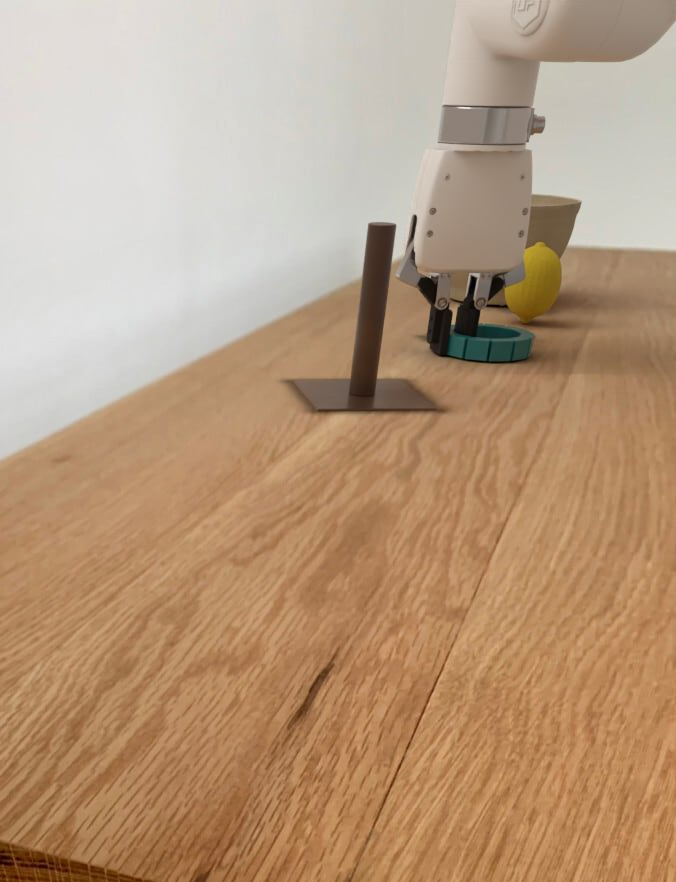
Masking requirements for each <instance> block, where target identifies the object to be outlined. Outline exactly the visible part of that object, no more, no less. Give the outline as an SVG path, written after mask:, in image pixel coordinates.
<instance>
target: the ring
mask: <svg viewBox="0 0 676 882" xmlns="http://www.w3.org/2000/svg"><path fill="white" fill-rule="evenodd" d="M454 328H455V323H454V324H451V329H450V336H449V342H448V349H447V353H445V354H444V355H446V356H450V357H454V358H457V359H464V360H468V361H469V360H470V361H478V362H479V361H481V362H487V361H488V362H510V361H511V362H514V361H520V360H525V359H528V358H529V357H530V356H531V355H532V351H533V346H534V342H535V333H534V332H532V331H530V330H528V329H524V328H521V327H516V326H511V325H505V324H496V323H495V324H494V323H482V322H481V323H480V322H479V323H478V330H477V336H476V337H470V336H466V335H461V334H458V333H456V332H455V329H454Z"/></svg>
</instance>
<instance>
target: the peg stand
mask: <svg viewBox="0 0 676 882" xmlns="http://www.w3.org/2000/svg"><path fill="white" fill-rule="evenodd" d="M396 232H397V223H394V222H387V221H372V222H368V223H367V230H366V240H365V247H364V257H363V266H362V275H361V282H360V290H359V291H360V292H359V300H358V309H357V318H356V325H355V326H356V327H355V336H354V344H353V354H352V361H351V370H350V379H293V381H292V383H293V384H294V386H295V387H296V388H297V389H298V390H299V391H300V393H301V394H302V395H303V396H304V398H305V399H306V400H307V401H308V402H309V404H310V405H311V406H312V407H313V409H314V410H315V411H316V412H321V413H322V412H412V411H413V412H424V411H425V412H427V411H428V412H430V411H433V412H434V411H437V407H436V406H434V405H433V404H432V403H431V402H430V401H428V400H427V399H426V398H425V397H424V396H423V395H421V394H420V393H419V392H418V391H417V390H416V389H414V388H413V386H410V384H408V383H407V382H406V381H405V380H404V379H402V378H393V379H392V378H391V379H390V378H388V379H387V378H382V379H381V378H378V374H379V366H380V358H381V351H382V343H383V333H384V327H385V318H386V310H387V309H386V308H387V304H388V303H387V302H388V296H389V286H390V279H391V271H392V263H393V256H394V248H395V240H396Z"/></svg>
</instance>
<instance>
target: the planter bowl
mask: <svg viewBox="0 0 676 882" xmlns="http://www.w3.org/2000/svg"><path fill="white" fill-rule="evenodd" d="M582 203H583V201H582V200H581V199H579V198H574V197H568V196H563V195H554V194H542V193H532V197H531V209H530V219H529V227H528V235H527V241H526V247H525V249H527V248H529V247H532V246H534V245H535V244H536V243H538V242H543V243H544V244H545V245H546V247H548V248H550V249H551V250H553V251H554V252H555V253H556V254H557V256H558V257H559V259H560V260H561V258H562V256H563V254H564V253H565V251H566V249H567V248H568V244H569V242H570V240H571V237H572V234H573V232H574V228H575V223H576V219H577V216H578V214H579V213H580V209H581V206H582ZM495 274H498V273H493V275H495ZM468 278H469V273H452V280H451V288H450V296H449V299H452V300H454V301H458V302H463V300H464V299H465V294H466V288H467V283H468ZM487 305H495V306H497V305H498V306H500V307H504V306H508V305H507V303H506V299H505V288H502V289H501V290H500V291H499V292H498V293H497V294H496V295H495V296H494V297H493V298H492V299H490V300H489V301H488V302H487Z"/></svg>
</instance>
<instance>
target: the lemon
mask: <svg viewBox="0 0 676 882" xmlns="http://www.w3.org/2000/svg"><path fill="white" fill-rule="evenodd" d="M523 259H524V266H525V272H526V277H525V279H524V280H523V281H522V282H519V283H516V284H514V285H511V286H509V287H505V299H506V303H507V305H506V306H507V307H508V309H509V310H510V312H512V313H513V314H514V315H516V316H517V317H518V318H519V320H520V321H521V322H522V323H523V324H529V323H531V322H532V321H533V320H534V319H535V318H537V317H539V316H542V315H543V314H545V313H547V312H548V311H549V310H550V309H551V308H552V306H554V303H555V302H556V301H557V298H558V295H559V293H560V289H561V286H562V280H563V279H562V277H563V272H562V271H563V267H562V262H561V258H560V259H559V257H558V256H557V254H556V253H555V252H554V251H553V250H551V249H550V248H548V247H546V245H545V244H544V243H543V242H538V243H536V244H535V245H534V246H532V247H529V248H527V249H525V252H524V256H523Z"/></svg>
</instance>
